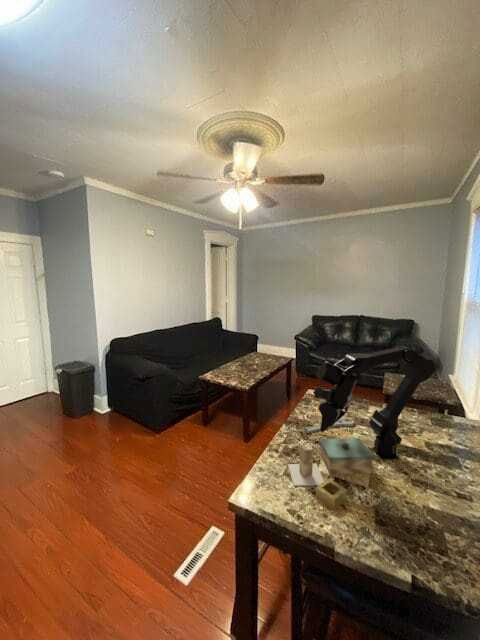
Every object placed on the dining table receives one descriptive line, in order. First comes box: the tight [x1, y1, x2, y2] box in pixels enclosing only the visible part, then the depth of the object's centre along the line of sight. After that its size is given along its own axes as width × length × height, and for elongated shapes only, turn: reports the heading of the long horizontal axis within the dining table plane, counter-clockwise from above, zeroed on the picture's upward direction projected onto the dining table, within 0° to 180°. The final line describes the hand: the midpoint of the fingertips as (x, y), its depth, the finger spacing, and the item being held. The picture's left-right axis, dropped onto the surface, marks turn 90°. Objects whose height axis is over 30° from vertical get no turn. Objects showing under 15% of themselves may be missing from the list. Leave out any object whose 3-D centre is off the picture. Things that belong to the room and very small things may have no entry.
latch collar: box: [315, 478, 348, 511], centre depth 82 cm, size 6×6×3 cm
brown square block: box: [299, 443, 314, 478], centre depth 91 cm, size 3×3×10 cm
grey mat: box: [287, 462, 325, 487], centre depth 92 cm, size 10×10×1 cm
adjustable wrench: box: [302, 416, 355, 434], centre depth 122 cm, size 25×6×2 cm, turn 104°
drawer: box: [319, 437, 375, 475], centre depth 97 cm, size 15×11×7 cm
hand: (325, 428), depth 98 cm, fingers open, 9 cm apart
